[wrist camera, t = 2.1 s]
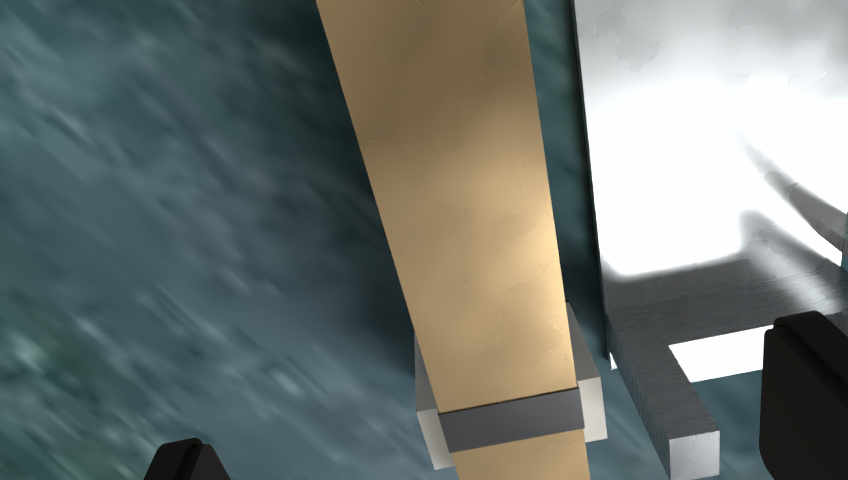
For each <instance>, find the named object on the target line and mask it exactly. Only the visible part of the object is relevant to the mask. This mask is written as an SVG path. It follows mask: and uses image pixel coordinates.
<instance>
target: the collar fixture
mask: <svg viewBox="0 0 848 480" xmlns="http://www.w3.org/2000/svg"><path fill="white" fill-rule="evenodd" d="M571 9H572V19H573V28H574V38H575V48H576V57H577V67H578V77H579V86H580V96H581V105H582V115H583V125H584V134H585V144H586V153H587V163H588V173H589V182H590V192H591V202H592V211H593V221H594V230H595V240H596V250H597V259H598V269H599V278H600V288H601V298H602V307H603V317H604V327H605V336H606V346H607V355H608V362H609V364H610V367H611V369H615V368H618V370H619V372H620V374H621V376H622V378H623V381H624V383H625V385H626V387H627V389H628V391H629V394H630V396H631V398H632V400H633V402H634V404H635V406H636V409H637V411H638V413H639V415H640V417H641V419H642V422H643V424H644V426H645V428H646V430H647V432H648V434H649V437H650V439H651V441H652V443H653V445H654V447H655V450H656V452H657V454H658V456H659V458H660V460H661V463H662V465H663V467H664V469H665V471H666V473H667V475H668V478H669V480H692V479H698V478H703V477H709V476H715V475H719V436H720V431H719V429H718V427H717V426H716V424H715V422H714V421H713V419H712V417H711V416H710V414H709V412H708V411H707V409H706V407H705V406H704V404H703V402H702V401H701V399H700V397H699V396H698V394H697V392H696V391H695V389H694V387H693V386H692V384H691V382H696V381H701V380H707V379H712V378H717V377H723V376H728V375H733V374H739V373H744V372H749V371H754V370H760V369H762V366H763V343H764V333H765V331H766V330H767V329H771V328H773V323H774V321H775V319H776V318H779V317H783V316H788V315H793V314H798V313H803V312H808V311H812V310H815V311H819V312H820V313H821V314H823V315H824V316H825V317H826V318H828V319H829V320H830V321H831V322H832V323H833V324H834V325H835V326H836V327H837V328H839V329H840V330H841V331H842V332H843V333H844V334H845V335H846V336H847V337H848V272H847V271H846V270H844V269H843V268H842V267H841V266H840V262H841V254H844V255H845V256H846V257H847V258H848V214H847V207H848V0H571Z"/></svg>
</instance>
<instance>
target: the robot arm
mask: <svg viewBox="0 0 848 480" xmlns="http://www.w3.org/2000/svg"><path fill="white" fill-rule="evenodd" d="M759 449H760V454H761V457H762V460H763V462H764V464H765V466H766V468H767V470H768V471H769V473H770V474H771V476H772V477H773V478H774V480H848V337H847V336H846V335H845V334H844V333H843V332H842V331H841V330H840V329H839V328H837V327H836V326H835V325H834V324H833V323H832V322H831V321H830V320H829V319H828V318H826V317H825V316H824V315H823V314H821V313H820V312H819V311H815V310H812V311H808V312H803V313H798V314H793V315H788V316H783V317H779V318H776V319H775V321H774V323H773V328H771V329H767V330H766V331H765V333H764V343H763V366H762V389H761V412H760V436H759ZM144 480H230V478H229V476H228V474H227V472H226V470H225V469H224V467H223V465H222V463H221V461H220V460H219V458H218V456H217V454H216V452H215V451H214V449H213V447H212V446H211V445H209V444H203V443H202V442H201V440H199V439H198V438H191V439H186V440H181V441H176V442H171V443H166V444H163V445H161V446H160V447H159V448H158V450H157V452H156V454H155V456H154V458H153V460H152V462H151V464H150V467H149V469H148V471H147V473H146V475H145V477H144Z"/></svg>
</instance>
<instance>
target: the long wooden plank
mask: <svg viewBox="0 0 848 480" xmlns="http://www.w3.org/2000/svg"><path fill="white" fill-rule="evenodd" d="M316 3H317V6H318V9H319V13H320V16H321V19H322V23H323V26H324V30H325V33H326V36H327V40H328V43H329V46H330V50H331V53H332V56H333V60H334V63H335V66H336V70H337V73H338V76H339V80H340V83H341V86H342V90H343V93H344V96H345V100H346V103H347V106H348V110H349V113H350V116H351V120H352V123H353V126H354V130H355V133H356V136H357V140H358V143H359V146H360V150H361V153H362V156H363V160H364V163H365V166H366V170H367V173H368V176H369V180H370V183H371V186H372V190H373V193H374V196H375V200H376V203H377V206H378V210H379V213H380V216H381V220H382V223H383V227H384V230H385V233H386V237H387V240H388V243H389V247H390V250H391V253H392V257H393V260H394V263H395V267H396V270H397V273H398V277H399V280H400V283H401V287H402V290H403V293H404V297H405V300H406V303H407V307H408V310H409V313H410V317H411V320H412V323H413V327H414V330H415V333H416V337H417V340H418V343H419V347H420V350H421V353H422V357H423V360H424V363H425V367H426V370H427V373H428V377H429V380H430V383H431V387H432V390H433V393H434V397H435V400H436V403H437V407H438V417H439V420H440V424H441V427H442V430H443V434H444V437H445V440H446V444H447V447H448V450H449V453H451V454H452V457H453V460H454V464H455V467H456V470H457V474H458V477H459V480H590V474H589V467H588V460H587V453H586V446H585V439H584V431H583V429H584V428H585V424H584V417H583V410H582V403H581V395H580V389H579V386H578V383H577V380H576V375H575V367H574V360H573V353H572V346H571V339H570V332H569V325H568V318H567V311H566V303H565V296H564V289H563V282H562V275H561V268H560V261H559V254H558V247H557V239H556V232H555V225H554V218H553V211H552V204H551V197H550V190H549V183H548V175H547V168H546V161H545V154H544V147H543V140H542V133H541V126H540V118H539V111H538V104H537V97H536V90H535V83H534V76H533V69H532V62H531V54H530V47H529V40H528V33H527V26H526V19H525V12H524V5H523V0H316Z"/></svg>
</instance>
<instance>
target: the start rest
mask: <svg viewBox="0 0 848 480" xmlns="http://www.w3.org/2000/svg"><path fill="white" fill-rule="evenodd" d="M566 311H567V318H568V325H569V332H570V339H571V346H572V353H573V360H574V367H575V375H576V380H577V383H578V386H579V389H580V395H581V403H582V410H583V417H584V424H585V428H584V429H583V431H584V439H585V442H589V441H595V440H600V439H606V438H607V432H606V423H605V414H604V405H603V396H602V388H601V379H600V375H599V373H598V370H597V368H596V366H595V363H594V361H593V358H592V356H591V354H590V351H589V349H588V346H587V344H586V342H585V339H584V337H583V334H582V332H581V330H580V327H579V325H578V322H577V320H576V318H575V315H574V313H573V310H572V308H571V306H570V303H569V302H567V303H566ZM414 343H415V385H416V413H417V416H418V419H419V423H420V426H421V429H422V432H423V435H424V438H425V441H426V444H427V447H428V450H429V453H430V456H431V459H432V463H433V466H434V469H435V470H436V469H442V468H447V467H452V466H455V464H454V460H453V457H452V454H451V453H449V450H448V447H447V444H446V440H445V437H444V434H443V430H442V427H441V424H440V420H439V417H438V407H437V403H436V400H435V397H434V393H433V390H432V387H431V383H430V380H429V377H428V373H427V370H426V367H425V363H424V360H423V357H422V353H421V350H420V347H419V343H418V340H417V337H416V333H414Z"/></svg>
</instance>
